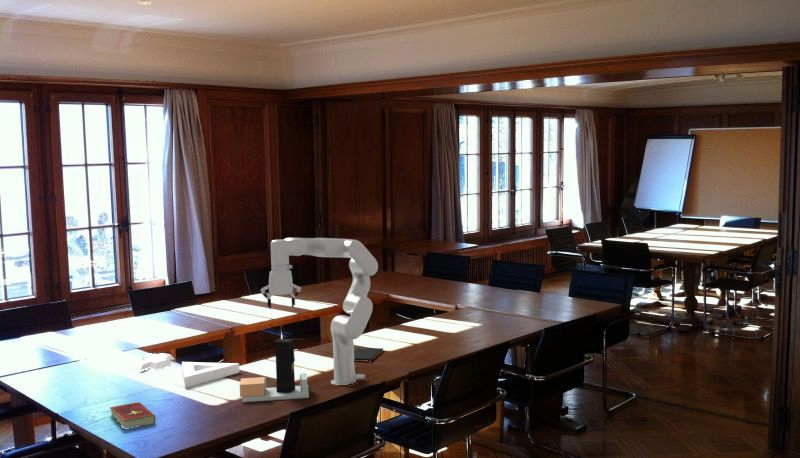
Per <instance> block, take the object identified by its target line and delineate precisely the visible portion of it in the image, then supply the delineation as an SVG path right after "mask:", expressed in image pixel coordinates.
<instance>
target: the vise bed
mask: <svg viewBox="0 0 800 458" xmlns="http://www.w3.org/2000/svg"><path fill="white" fill-rule="evenodd" d="M309 393H310V392H309V385H308V375H307V373H306V372H305V373H300V374H299V385H295V390H294V391H292V392H290V393H280V392H277V390H276V386H274V387H266V395H263V396H249V397H241V398H242V399H241V400H242V403H249V402H250V403H252V402H262V401H263V402H267V401H280V400H295V399H309V398H310V394H309Z"/></svg>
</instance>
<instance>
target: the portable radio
mask: <svg viewBox="0 0 800 458" xmlns="http://www.w3.org/2000/svg"><path fill="white" fill-rule="evenodd" d="M278 335H279V334H276V340H274V348H275V350H274V352H275V374H276V375H275V376H276V386H275V387H276V390H277V392H280V393H290V392H292V391H294V390H295V386H296V380H295V376H296V375H295V361H296V360H295V358H296V357H295V348H294V340H293V339H291V338H290V339H288V338H279V336H278Z"/></svg>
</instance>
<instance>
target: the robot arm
mask: <svg viewBox="0 0 800 458" xmlns="http://www.w3.org/2000/svg"><path fill="white" fill-rule="evenodd" d="M302 255H304V256H312V257H313V256H314V257H320V258H346V259H347V258H348V259H350V260H349V263H348V267H349V270H350V272H351V275H352V282H351V286H350V288H349V289H348V292H347V294H346V297H345V298H344V300H343V303H342V310H343V311H344V312H345V313H346V314H349V315H350V316H349V315H345V314H340V315H339V314H338V315H336V316H334V318H332V320H331V323H330V334H331V337H332V350H333V351H332V353H333V355H332V356H333V379H334V380H333V379H331V381H330V383H331V384H332V385H334V384H335V385H334V386H338V385H348V384H350V383H352V382H353V383H354V382H356V380H358V381H359V380H365V379H366V375H365V374H362V373H358V374H357V373H356V372H355V362H354V350H355V345H354V344H355V343H354V340H357V339H359V338H360V337H361V336H362V334H363V333H364V331H365V329H366V327H367V324H368V322H369V320H370V318H371V315H372V312H373V308H374V307H373V302H372V300H371V299H370V298H369V297H368V293H369V291H370V289H371V279H370V276H371V277H372V276H374V275H375V274H376V273H377V272H378V269H379V263H378V261H377V259H376V257H374V256H373V254H372V253H371V252H370V251H369V250H368V248H366V246H365V245H364V244H363V243H362V242H361V241H360V240H357V239H349V238H333V237H331V238H330V237H329V238H328V237H313V238H311V237H286V238H284V239H273V240H271V242H270V262H271V270H270V271H269V276H268V285H266V286H264V287H262V288H260V292H261V294H262V296H263V297H264V298H265V299H266V300H267V307H269V310H270V309H272V299H271V297H272V296H279V295H280V296H281V295H282V296H283V295H290V297H291V308H294V306H296V298H297V296H299V295H300V293H301V290H302V287H301V286H298V285H296V284H294V283H293V275H292V274H293V273H292V270H290V269H293V264H290V257H289V256H295V257H300V256H302ZM294 289H296V292H295V293H294ZM266 290H268V291H269V293H268V294H267V293H266V292H265V291H266ZM353 383H352V384H353ZM353 385H354V384H353ZM348 386H349V385H348Z"/></svg>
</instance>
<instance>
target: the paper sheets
mask: <svg viewBox="0 0 800 458" xmlns="http://www.w3.org/2000/svg"><path fill="white" fill-rule="evenodd" d="M142 359H143V361H142V360H141V361H139V363H138V365H137V367H139V368H140V370H142V369H145V368H148V367H151V368H154V369H159V368H161V367H166V366H169V367H172V365H171V364H172V363H171V362H172V361H174V360H176V359H175V357H173V355H172V354H169V353H163V352H161V353H156V354H153V353H151V352H150V353H147V354H146V355H144V356H143V358H142ZM166 368H167V367H166ZM159 370H160V369H159Z"/></svg>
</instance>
